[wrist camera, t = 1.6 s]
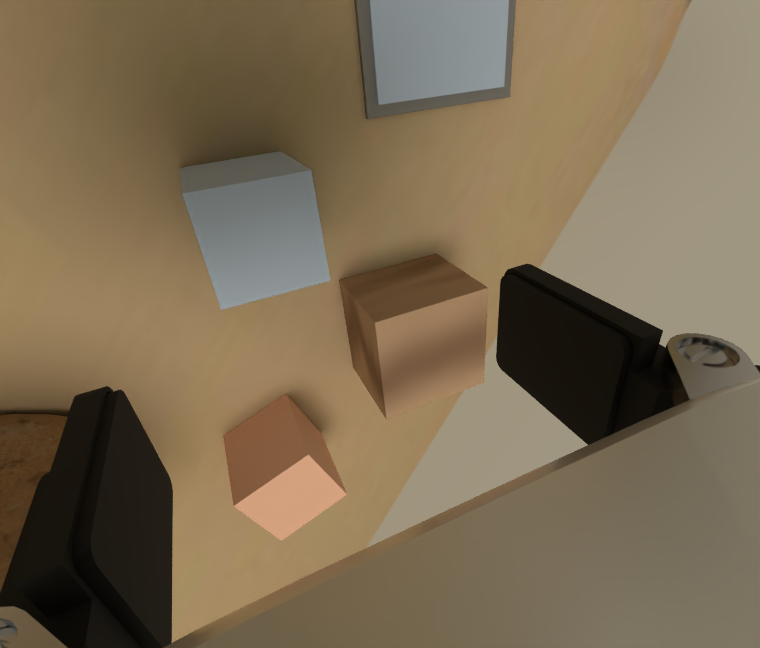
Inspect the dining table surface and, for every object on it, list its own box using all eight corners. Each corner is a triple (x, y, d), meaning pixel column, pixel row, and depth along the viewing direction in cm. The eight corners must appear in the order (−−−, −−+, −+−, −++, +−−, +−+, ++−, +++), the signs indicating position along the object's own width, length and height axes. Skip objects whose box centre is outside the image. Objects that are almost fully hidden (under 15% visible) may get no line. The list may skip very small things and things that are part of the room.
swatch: (342, -121, 18) (345, -124, 18) (520, -117, 21) (525, -119, 20) (366, 118, 23) (369, 118, 23) (507, 96, 26) (512, 96, 25)
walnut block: (338, 279, 27) (375, 322, 22) (435, 253, 29) (488, 287, 24) (352, 366, 31) (386, 419, 26) (437, 338, 33) (483, 382, 28)
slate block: (179, 167, 21) (182, 194, 16) (280, 150, 22) (311, 170, 17) (210, 262, 23) (221, 309, 18) (299, 242, 25) (330, 280, 20)
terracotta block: (223, 435, 29) (233, 505, 24) (285, 393, 29) (308, 454, 24) (264, 471, 32) (281, 540, 27) (320, 432, 32) (347, 494, 27)
